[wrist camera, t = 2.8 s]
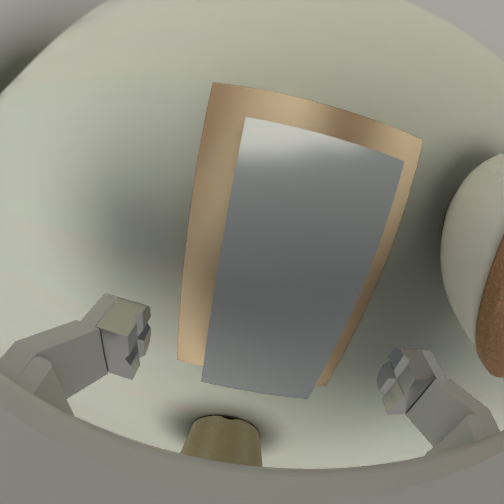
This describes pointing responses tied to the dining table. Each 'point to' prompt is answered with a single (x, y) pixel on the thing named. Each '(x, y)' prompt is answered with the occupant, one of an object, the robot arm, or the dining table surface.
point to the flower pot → (224, 441)
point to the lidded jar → (478, 260)
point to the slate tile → (293, 255)
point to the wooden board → (220, 184)
